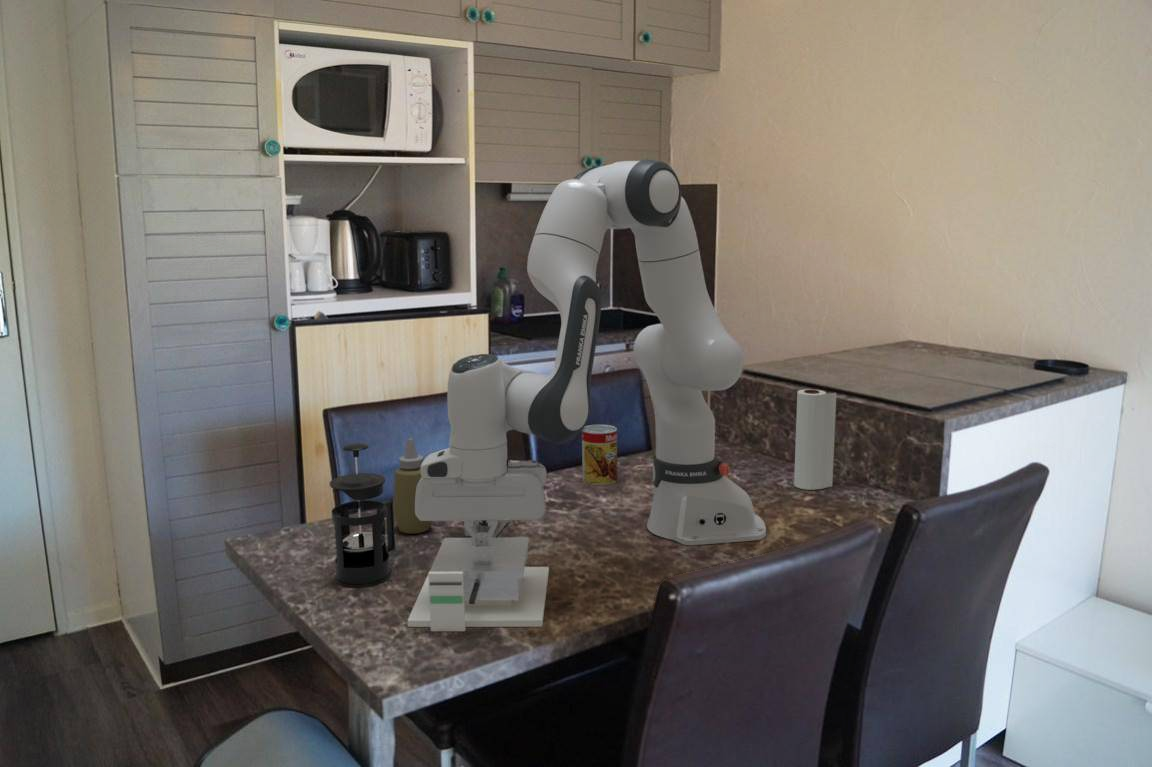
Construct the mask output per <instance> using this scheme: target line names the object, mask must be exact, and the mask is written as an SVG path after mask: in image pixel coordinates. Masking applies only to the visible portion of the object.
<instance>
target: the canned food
mask: <svg viewBox="0 0 1152 767" xmlns="http://www.w3.org/2000/svg"><path fill="white" fill-rule="evenodd" d="M617 428H618V427H616V426H614V425H610V424H591V425H585V427H584V428H583V430H582V431H581V456H582V461H581V462H582V465H581V470H582V472H581V473H582V475H581V476H582V482H583V483H584V482H585V484H586V485H591V486H592V485H593V486H607V485H612V484H615V483H616V482H617V481H618V429H617Z"/></svg>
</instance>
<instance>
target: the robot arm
mask: <svg viewBox="0 0 1152 767" xmlns="http://www.w3.org/2000/svg"><path fill="white" fill-rule="evenodd" d="M608 229H610V230H626V229H630V230H631V232H632V233H633V235H634V241H635V248H636V249H635V250H636V257H637V262H638V268H639V272H640V278H641V283H642V289H643V293H644V294H643V295H644V299H645V302H646V304H647V305H648V306H649V308H650V309H651V310H652V312H654V314H655V315H656V317H657V318H658V320H659V321H660V323H656V324H651V325H648V326H646V327H645V328H643V329H642V330H641V331H640V332H639V333H638V334H637V336H636V338H635V340H634V343H633V358H634V360H635V363H636V365H637V366H638V367H639V369H640V371H641V372H642V374H643V376H644V378H645V381H646V384H647V387H648V390H649V394H650V398H651V401H652V406H653V413H654V418H655V419H654V420H655V455H654V456H653V462H652V483H653V487H654V488H653V497H652V503H651V509H650V512H649V513H650V514H649V517H648V520H647V524H646V529H647V530H648V531H649V532H650V533H651V534H653V535H656V536H659V537H661V538H663V539H667V540H672V541H675V542H677V543H679V544H681V545H684V546H697V545H699V546H700V545H711V544H712V545H714V544H723V543H725V544H726V543H736V542H747V541H748V542H749V541H750V542H751V541H761V540H763V539H765V537H766V535H767V527H766V524H765V521H764V520H763V519H762V517H760V516H759V515H758V514H756V513H755V509H754V505H753V502H752V500H751V498H750V495H749V494H748V493H747V492H746V491H745V490H744V489H743V488H741V487H740V486H739V485H737V484H736V483H735V482H733V480H731V479H730V478H728V477H727V476H729V474H731V468H730V466H729V464H727V463H726V462H725V460H723V459H722V458H721V457H720V455H719V456H717V455H715V446H716V445H715V443H716V442H715V440H716V438H715V437H716V419H715V415H714V412H713V411H712V410H711V408H710V407H709V406H708V404H707V402H706V400H705V398H704V395H703V392H713V391H714V392H717V391H725V390H728V389H729V388H731V387H732V386H733V385H735V384H736V383H737V382H738V380H739V378H740V377H741V375H742V373H743V372H742V371H743V368H744V354H743V353H744V352H743V350H742V348H741V347H740V345H739V343H737V341H736V340H735V339H734V338H733V337H732V336H731V335H730V334H729V333H728V331H727V330H726V328H725V327H724V325H723V324H722V322H721V319H720V318H719V316H718V314H717V311H716V310H715V307H714V305H713V302H712V300H711V298H710V296H709V293H708V288H707V284H706V280H705V274H704V269H703V263H702V260H701V259H702V258H701V254H700V253H701V252H700V247H699V242H698V237H697V232H696V229H695V224H694V222H693V218H692V215H691V211H690V209H689V206H688V203H687V202H686V200H685V199H684V197H683V196H682V187H681V184H680V180H679V178H678V176H677V174H676V172H675V170H674V169H673V168H672V167H671V166H670V165H669V164H668V163H666V162H663V161H661V160H655V159H642V160H624V161H615V162H614V163H611V164H610V163H609V164H606V165H602V166H592V167H589V168H587V169H585V170H583V171H581V172H579V173H578V174H576V176H574V177H573V178H571V179H567V180H564V181H562V182H560V183H558V184H557V185H556V186H555V188H554V189H553V191H552V193H551V195H550V196H549V199H548V200H547V202H546V205H545V207H544V208H543V211H542V213H541V216H540V218H539V221H538V224H537V227H536V229H535V232H534V235H533V239H532V242H531V244H530V249H529V251H528V256H527V266H526V267H527V268H526V272H527V276H528V277H529V280H530V282H531V284H532V285H533V287H534V288H535V290H537V292H538V293H539V294H541V295H542V297H544V298H546V300H548V301H550V302H551V303H552V304H553V305H554V306H556V308H557V310H558V312H559V316H560V320H561V321H560V322H561V324H560V331H559V337H558V343H557V349H556V355H555V360H554V367H553V369H552V371H551V372H550V373H549V374H544V373H537V372H535V371H532V370H531V371H530V370H525V369H522V368H518V367H515V366H511V365H509V364H507V363H505V362H503V361H502V360H500V358H499V357H498V356H497V355H495V354H491V353H480V354H472V355H469V356H466V357H462V358H460V359H459V360H457V361H456V362H454V363H453V365H452V366H451V368H450V370H449V374H448V380H447V393H446V394H447V398H446V399H447V419H448V422H449V424H450V430H451V431H450V436H449V442H448V443H449V444H448V445H449V446H448V448H444V449H441V450H438V451H435V452H432V453H430V454H428V455H426V457H425V458H424V461H423V462H422V464H421V468H420V472H421V476H422V477H421V479H420V481H419V482H418V484H417V487H416V494H415V515H416V516H417V518H418V519H419V520H420V521H432V522H435V521H436V522H437V521H438V522H441V521H442V522H443V521H444V522H445V521H447V522H449V521H450V522H452V521H453V522H454V521H455V522H457V521H463V528H464V527H465V528H466V530H467V531H468V533H469V534H470V536H469V537H470V538H472V546H473V547H476V546H491V545H492V534H493V532H494V531H495V529H496V527H497V524H498V520H509V521H536V520H537V521H538V520H541V519H542V518H543V517H544V516H545V514H546V507H547V506H546V497H545V496H546V494H545V491H544V490H545V489H544V487H545V486H546V484H547V481H548V480H547V478H548V477H547V475H548V473H547V469H546V467H545V466H544V465H543V464H542V463H540V462H537V460H535V459H528V460H521V459H520V460H519V459H515V460H514V459H508V439H507V433H508V432H509V431H512V430H515V431H517V432H520V433H522V434H523V433H524V434H527V435H530V436H531V435H532V436H534V437H537V438H539V439H541V440H544V441H546V442H548V443H552V444H554V445H561V444H562V445H563V444H566V443H568V442H570V441H572V440H573V439H575V438H576V437H577V436H578V435H579V434H580V433H582V430H583V428H584V427H585V426H587V423H588V421H589V417H590V414H591V382H592V381H591V379H592V372H593V367H594V360H595V354H596V348H597V341H598V336H599V335H598V333H599V328H600V321H601V314H602V313H601V312H602V292H601V289H600V286H599V284H598V283H597V278H596V277H597V266H598V260H599V258H600V255H601V254H600V253H601V249H602V247H603V246H602V245H603V242H604V238H605V233H607V231H608ZM475 520H488V526H491V527H490V529H489V531H488V532H487V533H477V531H476V529H475V527H474V526H473V525H474V522H475Z"/></svg>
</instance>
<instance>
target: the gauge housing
mask: <svg viewBox="0 0 1152 767" xmlns="http://www.w3.org/2000/svg"><path fill="white" fill-rule="evenodd" d="M549 575H550V567H549V566H525V569H524V574H523V579H522V584H521V589H520V594H519V600H476V601H475V604H469V600H464V574H463V571H452V572H429V571H428V574H427V576H426V578H425V580H424V583H423V585H422V588H421V590H420V592H419V594H418V596H417V598H416V601H415V603H414V604H413V607H412V609H411V612H410V614H409V616H408V619H407V628H430V632H466V628H468V627H469V628H481V627H483V628H489V627H490V628H501V627H502V628H510V627H511V628H515V627H518V628H524V627H525V628H526V627H527V628H537V627H539V628H541V627H543V623H544V617H545V616H544V615H545V607H546V599H547V598H546V597H547V590H548V583H549Z"/></svg>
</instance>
